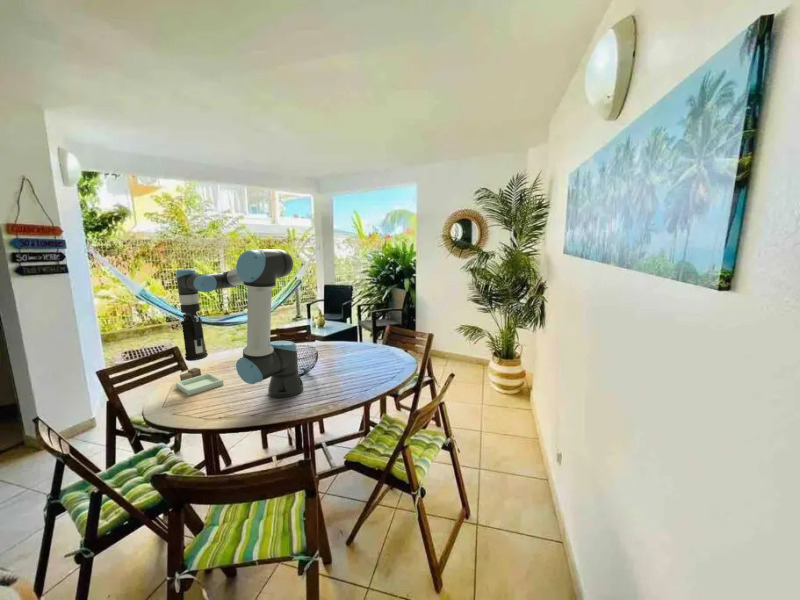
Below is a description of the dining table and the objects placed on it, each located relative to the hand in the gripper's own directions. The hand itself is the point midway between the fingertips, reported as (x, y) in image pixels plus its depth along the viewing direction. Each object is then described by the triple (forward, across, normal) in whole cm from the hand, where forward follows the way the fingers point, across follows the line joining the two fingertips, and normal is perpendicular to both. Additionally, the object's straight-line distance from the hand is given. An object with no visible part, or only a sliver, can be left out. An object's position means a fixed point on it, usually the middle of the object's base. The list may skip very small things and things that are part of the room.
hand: (195, 350), depth 157 cm
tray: (+18, 0, 0) cm, 18 cm away
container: (+4, 0, 0) cm, 4 cm away
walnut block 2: (+18, +15, -3) cm, 23 cm away
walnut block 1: (+18, +11, +2) cm, 21 cm away
